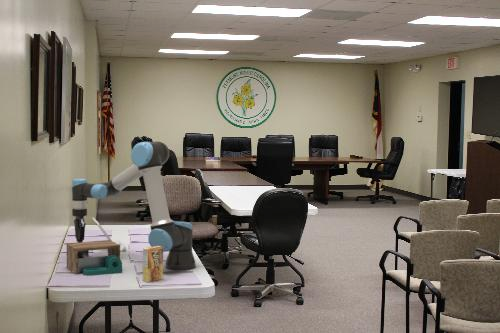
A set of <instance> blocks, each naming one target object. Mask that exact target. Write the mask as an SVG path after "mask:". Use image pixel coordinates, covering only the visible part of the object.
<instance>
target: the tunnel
mask: <svg viewBox="0 0 500 333" xmlns="http://www.w3.org/2000/svg"><path fill="white" fill-rule="evenodd" d="M111 240H112V239H111ZM111 240H108V239H103V240H93V241H83V242H78V243H77V242H70V243H69V242H68V243H66V269H68V270H69V271H70V272H72V273H73V274H75V275H78V274H79V273H78V251H92V250H100V249H108V253H107V256H110V255H117V257H118V258H119V259H120V260H121V252H120V245H119V244H117V243H115V241H113V240H112V241H111Z"/></svg>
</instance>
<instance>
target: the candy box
mask: <svg viewBox="0 0 500 333" xmlns="http://www.w3.org/2000/svg"><path fill="white" fill-rule="evenodd" d="M142 249H143V250H142V282H145V283H150V282H155V281H159V280H163V275H164V274H163V272H164V271H163V270H164V268H163V267H164V252H163V247H161V246H154V247H151V246H149V247H143V248H142Z"/></svg>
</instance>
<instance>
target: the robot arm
mask: <svg viewBox="0 0 500 333" xmlns="http://www.w3.org/2000/svg"><path fill="white" fill-rule="evenodd" d="M169 157H170V150H169V147H168V146H167V144H165V143H164V142H161V141H141V142H138V143H136V144H135V145H134V146H133V148H132V150H131V153H130V159H131V162H132V163H133V164H132V165H130V166H128V168H126V169H125V170H123V171H122V172H120V173H119V174H118V175H116V176H114V177H113V178H112V179H110V180H108V181H106V182H100V183H89V182H88V179H86V178H74V179H73V180H72V182H71V183H72V184H71V194H72V195H71V197H72V199H71V207H72V209H71V211H72V212H71V214H72V217H75V218H74V220H73V223H74V236H75V237H74V238H75V239H76V243H78V242H84V240H85V233H86V232H85V231H86V225H87V224H86V222H85V217H86V216H87V215H88V204H89V202H88V199H95V200H100V199H101V200H102V199H104V198H106V197H107V198H108V197H115V196H119V195H120V194H121V193H122V190H124V189H125V188H126V187H128V186H130V185H131V184H133V183H134V182H135V181H137V180H138V179H140V178H141V177H142V178H143V184H144V187H145V192H146V195H147V201H148V207H149V210H150V211H149V212H150V217H151V220H152V221H151V222H152V223H151V224H150V227H149V228H150V232H149V234H148V238H147V239H148V244H149V247H154V246H161V247H163V253H165V252H168V253H167V257H166V261H165V269H169V270H174V271H176V270H177V271H178V270H179V271H183V270H184V271H185V270H186V271H187V270H192V269H194V268H196V260H195V256H194V253H193V231H194V230H193V224H192V223H191V222H187V221H178V220H177V221H176V220H173V219H171V217H170V213H169V206H168V203H167V198H166V193H165V189H164V185H163V184H164V183H163V179H162V178H163V177H162V175H161V173H162V172H161V169H162V168H163V165H164V164H165V163H166V162H167V161H168V160H169Z"/></svg>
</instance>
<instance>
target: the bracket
mask: <svg viewBox="0 0 500 333" xmlns="http://www.w3.org/2000/svg"><path fill="white" fill-rule="evenodd" d="M107 256H108V255H107ZM113 263H114V264H113ZM112 274H123V262H122V259H121V258H120V259H119V258H118V257H116V256H115V255H110V256H108V257H107V258H106V259H105V267H98V268H87V269H83V272H82V275H83V276H85V277H86V276H89V277H90V276H101V275H102V276H103V275H112Z"/></svg>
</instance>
